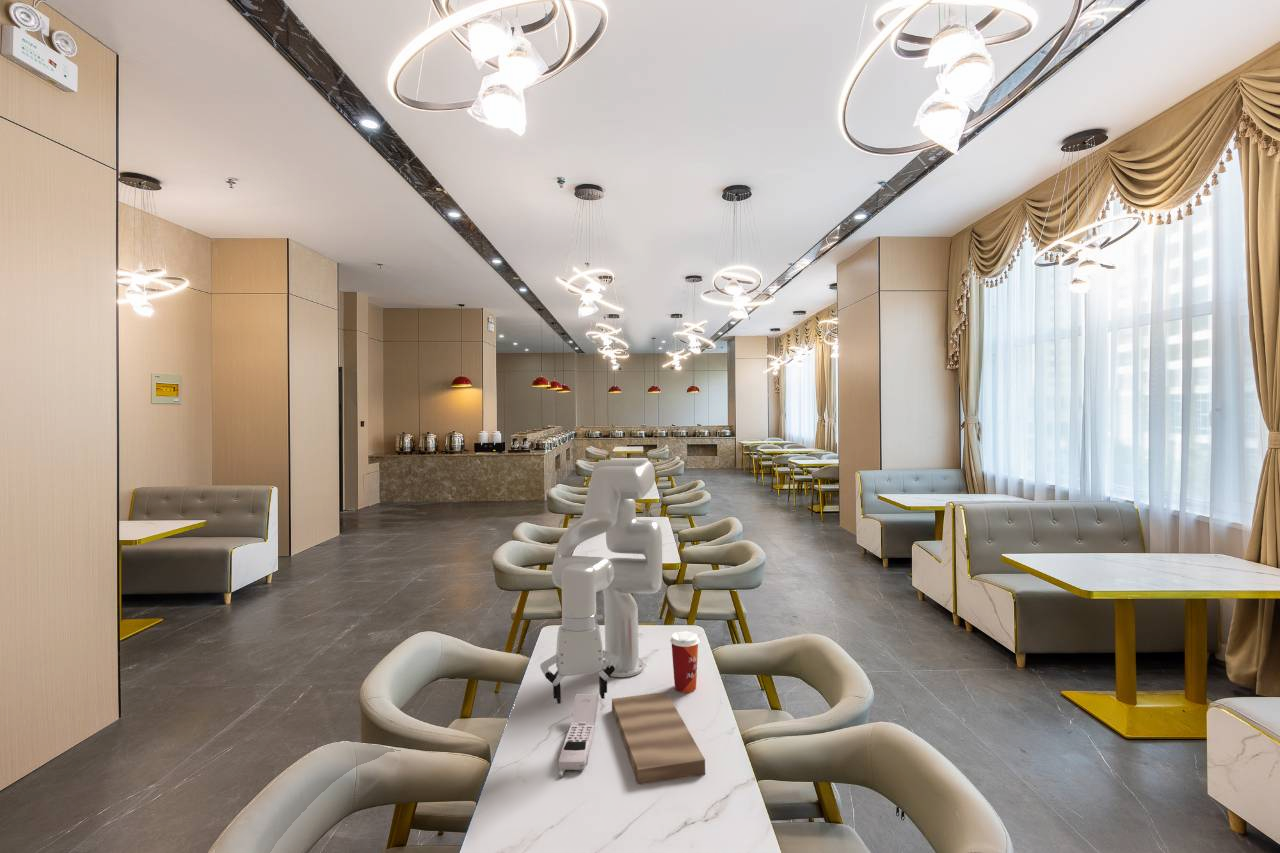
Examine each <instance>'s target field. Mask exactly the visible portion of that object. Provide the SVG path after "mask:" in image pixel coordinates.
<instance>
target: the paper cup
mask: <svg viewBox="0 0 1280 853" xmlns="http://www.w3.org/2000/svg"><path fill="white" fill-rule="evenodd" d="M669 642H670V644H671V654H672V656H671V658H672V668H673V682H674V689H675V691H676V692H679V693H683V694H684V693H685V694H689V693H693V692H694V691H696V689H697V677H698V676H697V675H698V657H699V656H698V655H699V643H700V639H699V637H698V634H697V633H695V632H692V631H687V630H686V631H676V632H674V633H672V635H671V638H670V641H669Z"/></svg>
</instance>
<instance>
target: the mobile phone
mask: <svg viewBox="0 0 1280 853" xmlns="http://www.w3.org/2000/svg"><path fill="white" fill-rule="evenodd" d="M599 701H600V693H576V694H575V697H574V704H573V713H572V721H571V723H570V726H569V729H568V731H567V734H566V737H565V739H564V742H563V745H562V748H561V751H560V755H559V758H558V768H559V769H558V778H563V776H564V773H565V772H566V771H582V770H583V771H584V769H585V768H586V765H587V764H588V763H589V755H590V751H591V749H592V743H593V739H594V734H595V730H596V719H597V712H598V706H599Z"/></svg>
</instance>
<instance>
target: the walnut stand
mask: <svg viewBox="0 0 1280 853" xmlns="http://www.w3.org/2000/svg"><path fill="white" fill-rule="evenodd" d="M611 712H612V714H613V717H614V720H615V722H616V726H617V729H618V731H619V734H620V738H621V740H622V742H623V745H624V749H625V752H626V754H627V755H626V756H627V757H628V760H629V763H630V766H631V768H632V772H633V774H634V777H635V780H636V783H637V785H645V784H650V783H657V782H663V781H669V780H676V779H683V778H689V777H696V776H702V774H703V775H706V759H705V757H704V755H703V753H702V752H701V750H700V748H699V747H698V745H697V743H696V741H695V739H694V737H693V736H692V734H691V732H690V731H689V729H688V727H687V725H686V724H685V722H684V720H683V719H682V716H681V715H680V713H679V711H678V710H677V707H676V706H675V704H674V703H673V701H672V699H671V697H670V695H669V693H668V692H667V691H663V692H656V693H649V694H647V693H646V694H638V695H631V696H622V697H615V698H611Z"/></svg>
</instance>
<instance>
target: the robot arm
mask: <svg viewBox="0 0 1280 853" xmlns="http://www.w3.org/2000/svg"><path fill="white" fill-rule="evenodd" d="M590 476H591V477H590V479H589V480H590V481H589V484H588V489H587V494H586V498H585V503H584V506H583V507H584V508H583V512H582V515H581V517H580V518H578V519H577V520H576V521H575V522H573V523H572V525H570V526H569V527H568V528H567V529H566V530H565V532H564V533H563V534H562V535H561V537H560V538H559V541H558V543H557V545H556V548H555V553H554V558H553V561H552V568H551V580H552V582H553V584H554V585H555V587H558V588H560V589H561V621H562V622H561V625H560V626H559V627H558V630H557V637H556V648H555V649H556V650H555V651H556V652H555V654H554V655H553V656H551V657H549V658H547V659H546V660H544V661H543V662H541V663H540V664H539V667H540V670H541V671H542V673H543V675H544V677H545V679H546V680H548V681H549V682H550V683H551V684H552V686H553V691H552V692H553V693H552V695H553V699H556V702H557V704H558V705H559V704H561V703H562V695H561V694H562V693H561V692H562V690H561V688H562V686H561V681H562V679H563V678H564V677H575V676H584V675H591V674H597V675H599V676H598V692H599V693H598V694H599V697H600V698H601V700H603V699H605V695H606V693H607V694H608V680H609V678H610V677H612V678H613V677H614V678H629V677H633V676H637V675H639V674H640V673H641V672H643V671H644V669H645V662H644V660H642V659H641V657H639V608H638V604H637V602H636V600H635V598H634V597H633V595H632V594H644V595H646V594H647V595H651V594H656V593H658V592H659V591H661V588H662V584H663V537H662V536H663V535H662V529H661V526H660V525H659V523H658V522H656V521H655V520H651V519H637V516H636V513H637V512H636V510H637V509H636V505H637V504H636V501H635V500H641V499H643V498H645V496H646V495H647V494H648V493H649V492H650V491H651V489H652V488H653V486H654V484H655V480H656V471H655V466H654V465H653V463H652V462H651V461H650V460H646V459H604V460H599V461H597V462H595V463H594V465H593V467H592V474H591V475H590ZM604 533H605V541H606V542H605V543H606V546H607V549H608V550H609V552H612V553H617V554H625V555H626V554H629V555H630V554H631V555H633V554H635V555H643V556H644V558H633V557H613V558H606V557H602V556H589V555H588V556H587V555H585V556H584V555H572V554H573V551H575V549H576V548H577V547H578V546H580V544H582V543H584V542H585V541H587V540H590V539H592V538H595V537H597V536H599V535H602V534H604ZM601 591H602V592H603V593H602V594H603V603H604V604H603V606H604V609H603V610H604V615H603V614H602V613H601V614H600V613H598V612H597V593H598V592H601ZM600 621H604V648H605V649H604V648H603V639H602V634H601V628H600V625H599V624H598V622H600ZM553 665H556V666H555V667H556V670H555V672H554V673H553V672H552V671H550V670H549V668H550V667H553Z"/></svg>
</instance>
